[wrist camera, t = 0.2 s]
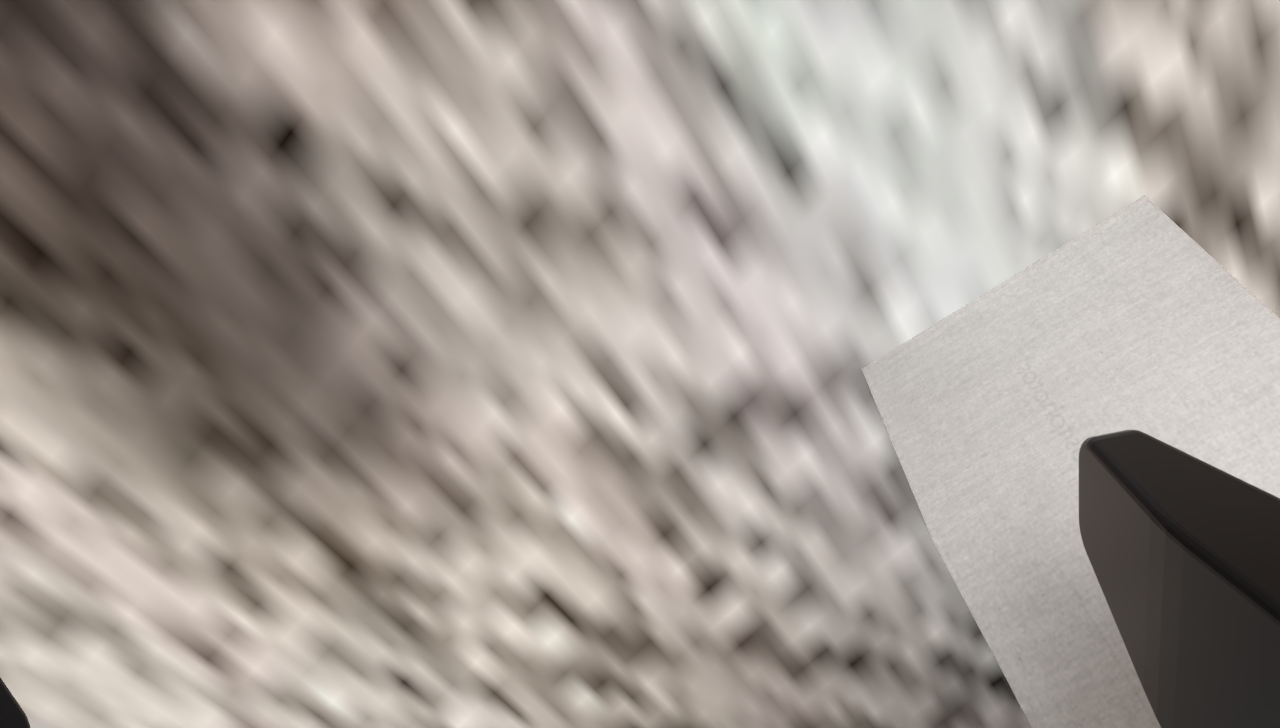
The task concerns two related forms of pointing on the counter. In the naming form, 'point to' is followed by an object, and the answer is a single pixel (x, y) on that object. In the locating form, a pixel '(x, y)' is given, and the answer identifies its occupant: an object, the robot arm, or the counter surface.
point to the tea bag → (1074, 437)
